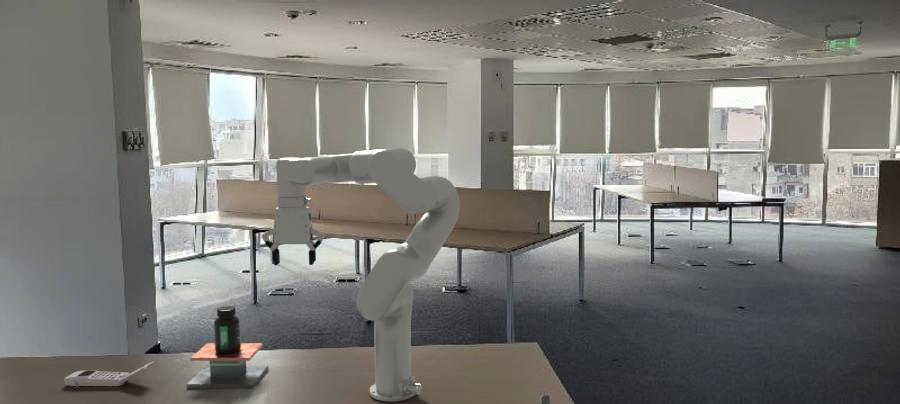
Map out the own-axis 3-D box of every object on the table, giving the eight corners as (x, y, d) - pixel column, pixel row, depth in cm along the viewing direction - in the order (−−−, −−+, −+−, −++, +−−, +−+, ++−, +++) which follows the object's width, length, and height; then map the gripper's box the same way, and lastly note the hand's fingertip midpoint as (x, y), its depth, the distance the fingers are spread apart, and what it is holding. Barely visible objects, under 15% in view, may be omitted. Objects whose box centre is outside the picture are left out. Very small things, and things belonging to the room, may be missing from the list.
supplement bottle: (227, 356, 183) (225, 313, 181) (209, 351, 186) (207, 309, 185) (246, 348, 189) (244, 306, 187) (228, 344, 192) (227, 303, 190)
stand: (268, 369, 195) (267, 342, 194) (253, 388, 181) (251, 359, 180) (206, 369, 195) (205, 342, 194) (186, 388, 181) (185, 359, 181)
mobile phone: (145, 367, 181) (54, 366, 182) (146, 389, 182) (55, 388, 183) (155, 360, 187) (67, 359, 188) (156, 380, 188) (68, 380, 189)
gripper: (326, 200, 188) (328, 261, 190) (264, 201, 188) (267, 261, 190) (320, 204, 180) (322, 266, 182) (256, 204, 181) (259, 267, 183)
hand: (294, 264), depth 186 cm, fingers open, 9 cm apart
